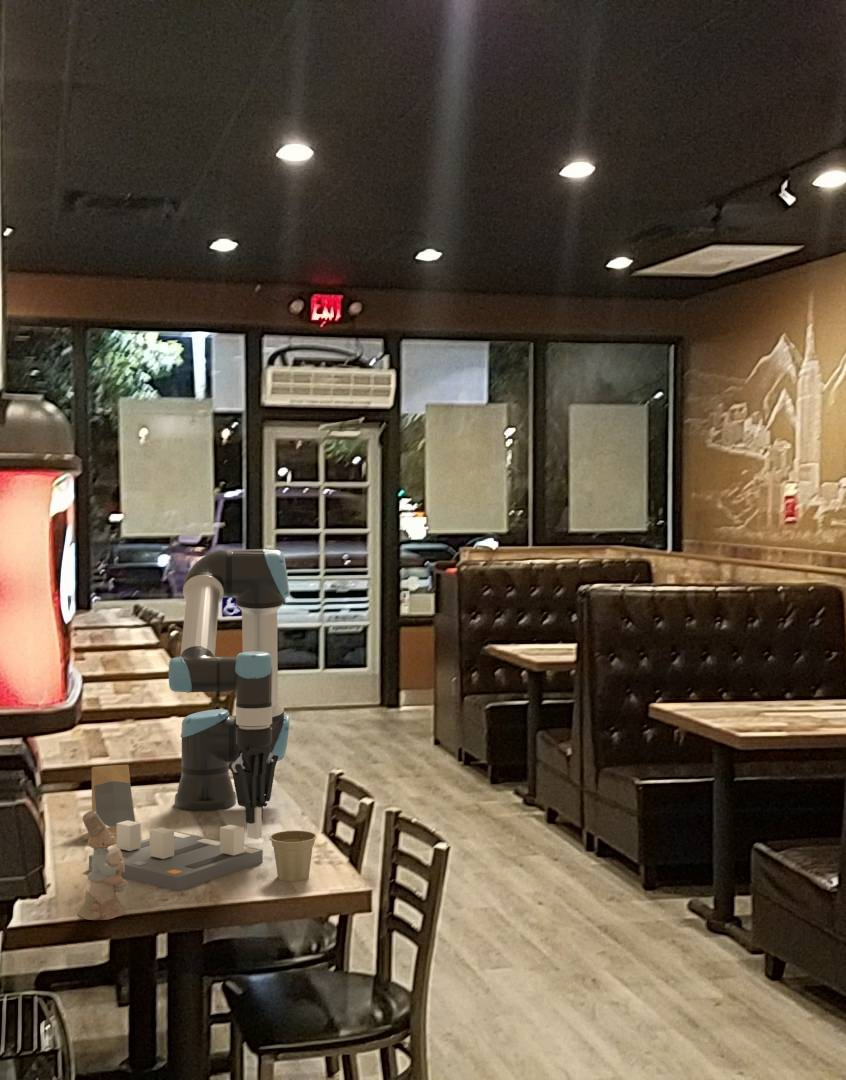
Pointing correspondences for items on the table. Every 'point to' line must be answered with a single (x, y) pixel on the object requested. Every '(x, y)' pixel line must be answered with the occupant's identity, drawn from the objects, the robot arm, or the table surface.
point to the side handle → (129, 835)
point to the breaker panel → (185, 862)
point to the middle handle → (161, 843)
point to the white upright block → (232, 840)
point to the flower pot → (293, 854)
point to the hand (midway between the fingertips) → (254, 837)
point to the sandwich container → (112, 795)
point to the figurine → (103, 873)
